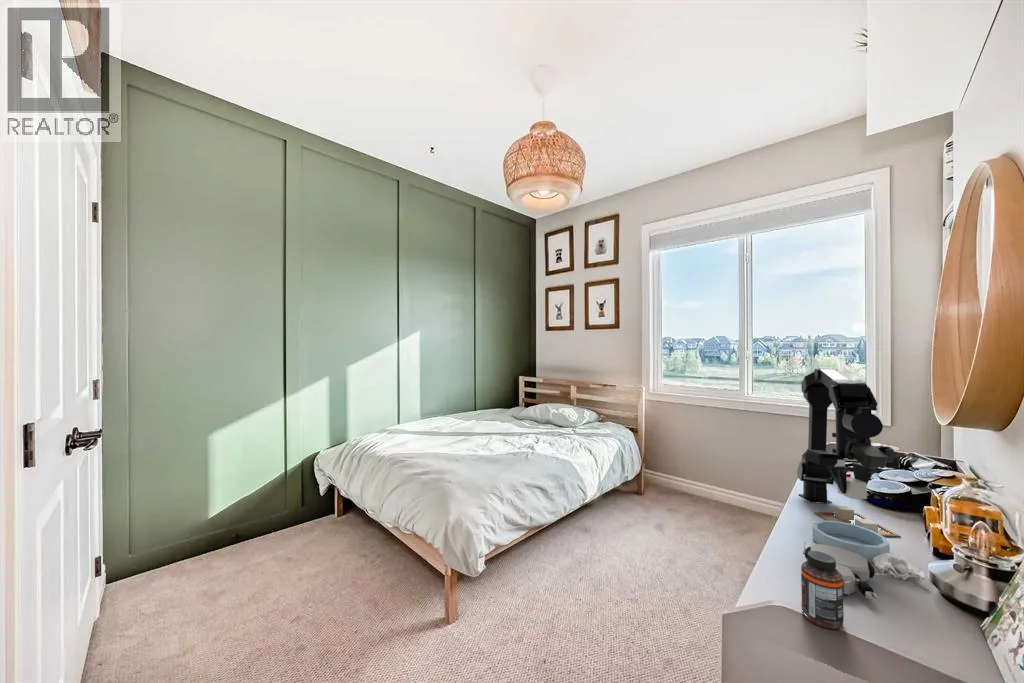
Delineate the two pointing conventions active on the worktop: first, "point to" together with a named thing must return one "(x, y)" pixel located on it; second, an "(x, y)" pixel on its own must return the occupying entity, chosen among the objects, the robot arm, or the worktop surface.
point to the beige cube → (855, 489)
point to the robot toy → (849, 568)
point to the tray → (830, 517)
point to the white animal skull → (884, 564)
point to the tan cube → (844, 512)
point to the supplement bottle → (822, 590)
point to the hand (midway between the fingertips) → (851, 493)
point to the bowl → (850, 538)
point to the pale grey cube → (867, 524)
